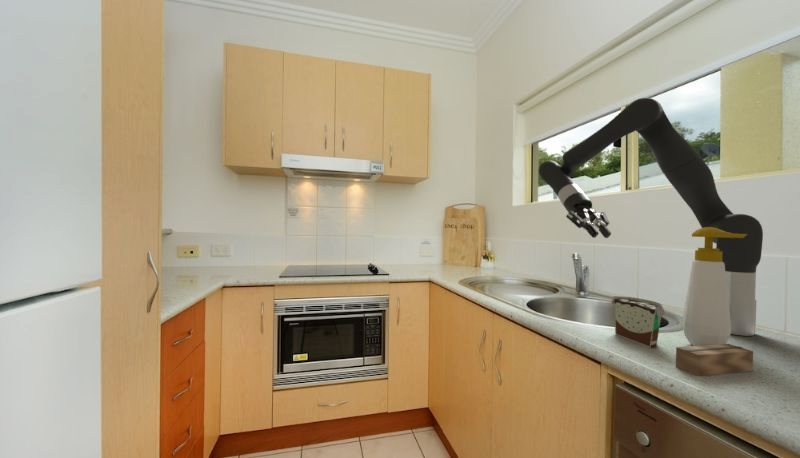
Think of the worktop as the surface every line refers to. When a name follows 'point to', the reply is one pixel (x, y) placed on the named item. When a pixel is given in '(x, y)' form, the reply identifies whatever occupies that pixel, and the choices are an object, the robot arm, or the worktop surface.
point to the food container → (637, 319)
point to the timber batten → (714, 359)
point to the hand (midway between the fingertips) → (602, 235)
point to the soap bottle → (708, 293)
